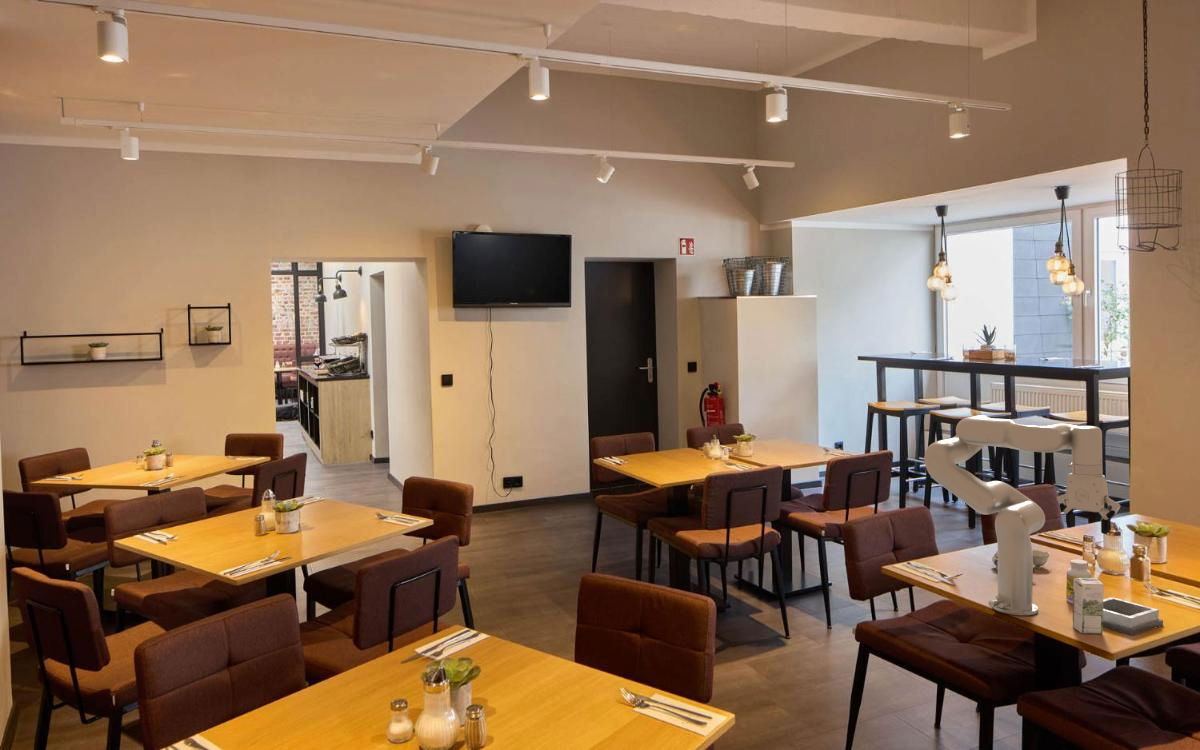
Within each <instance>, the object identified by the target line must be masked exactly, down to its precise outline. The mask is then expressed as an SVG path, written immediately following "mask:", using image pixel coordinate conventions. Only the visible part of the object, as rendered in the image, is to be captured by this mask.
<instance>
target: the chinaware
mask: <svg viewBox="0 0 1200 750" xmlns="http://www.w3.org/2000/svg"><path fill="white" fill-rule="evenodd" d="M1032 551H1033V569H1042V568H1043V566H1045V565H1046V563H1047V562H1048V559H1049V557H1050V555H1051V553H1050V552H1049V551H1048V552H1047V551H1042V550H1040V549H1032ZM991 562H992V564H994V566H995V569H996V570H997V571H998V550H997V551H996V552H995V553H994V555H993V556H992V559H991Z"/></svg>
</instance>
